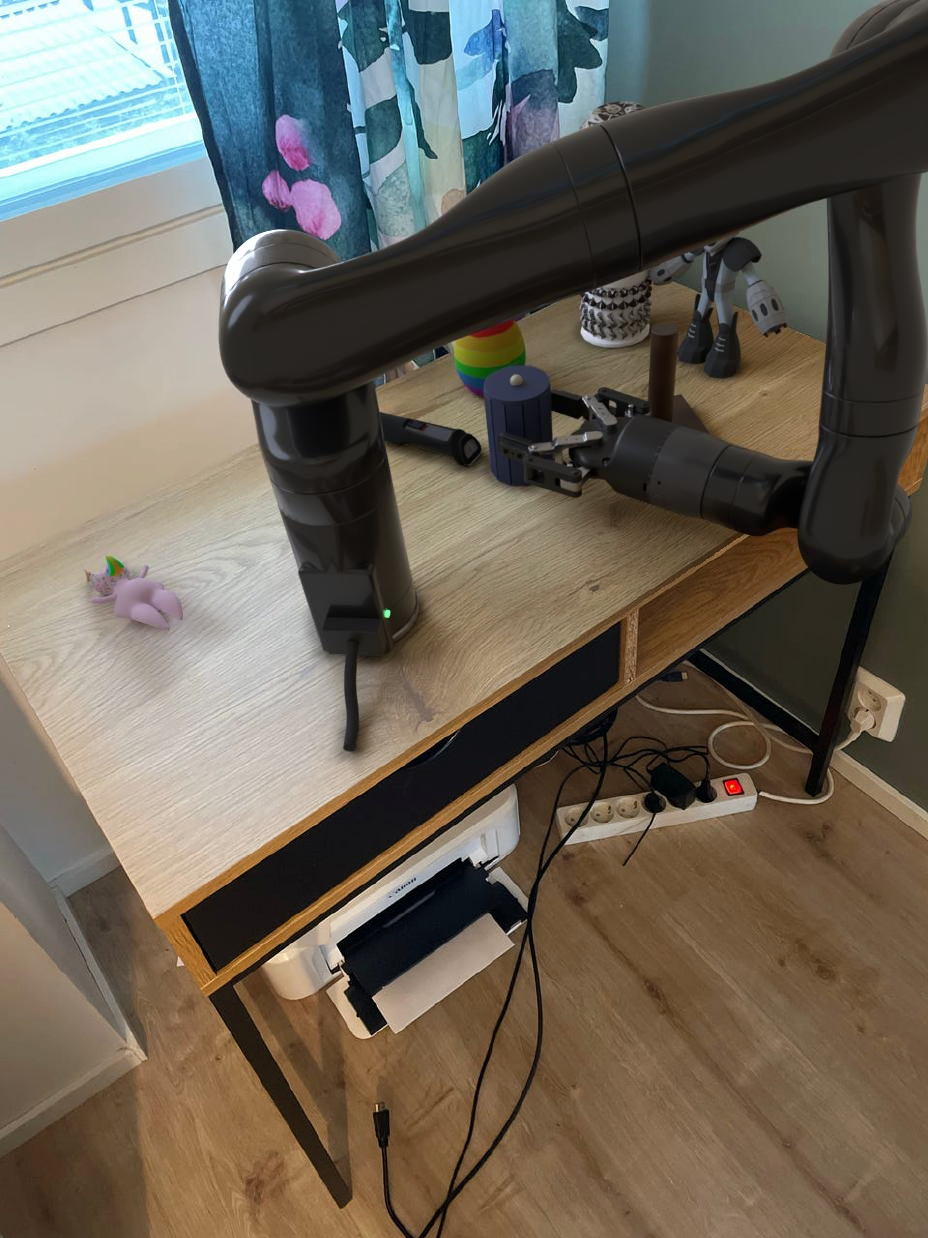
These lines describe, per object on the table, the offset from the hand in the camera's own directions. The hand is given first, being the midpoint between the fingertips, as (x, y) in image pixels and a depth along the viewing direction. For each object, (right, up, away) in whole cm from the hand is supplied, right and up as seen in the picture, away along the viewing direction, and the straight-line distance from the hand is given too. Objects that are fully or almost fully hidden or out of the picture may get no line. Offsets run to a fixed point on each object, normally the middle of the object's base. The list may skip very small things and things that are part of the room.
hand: (525, 419), depth 89 cm
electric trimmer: (-11, -1, +9) cm, 15 cm away
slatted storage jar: (0, -4, +5) cm, 6 cm away
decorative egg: (-3, +8, +16) cm, 18 cm away
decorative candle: (+13, +16, +22) cm, 30 cm away
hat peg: (+15, 0, +6) cm, 16 cm away
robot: (+22, +10, +15) cm, 29 cm away
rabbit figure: (-36, -19, -4) cm, 41 cm away
